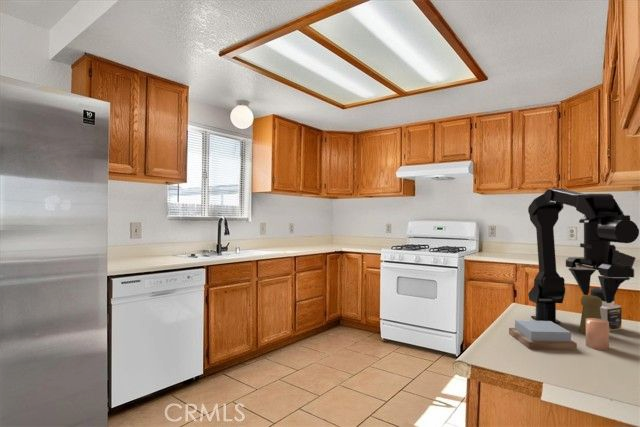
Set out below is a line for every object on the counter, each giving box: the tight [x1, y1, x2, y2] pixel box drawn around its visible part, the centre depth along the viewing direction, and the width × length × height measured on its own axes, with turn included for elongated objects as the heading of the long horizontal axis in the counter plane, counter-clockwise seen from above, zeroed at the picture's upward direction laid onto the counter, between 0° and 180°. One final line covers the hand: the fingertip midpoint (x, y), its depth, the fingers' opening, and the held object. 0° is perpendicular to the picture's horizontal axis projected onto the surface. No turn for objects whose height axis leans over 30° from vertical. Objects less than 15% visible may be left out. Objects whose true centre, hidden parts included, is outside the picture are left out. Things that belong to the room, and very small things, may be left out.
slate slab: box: [514, 319, 572, 342], centre depth 103 cm, size 10×10×2 cm
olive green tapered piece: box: [578, 294, 602, 335], centre depth 111 cm, size 6×6×11 cm
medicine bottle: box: [589, 287, 623, 332], centre depth 116 cm, size 7×7×12 cm
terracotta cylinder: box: [585, 318, 610, 351], centre depth 99 cm, size 5×5×7 cm
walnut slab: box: [508, 327, 578, 351], centre depth 103 cm, size 12×12×2 cm
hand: (596, 298), depth 99 cm, fingers open, 9 cm apart
